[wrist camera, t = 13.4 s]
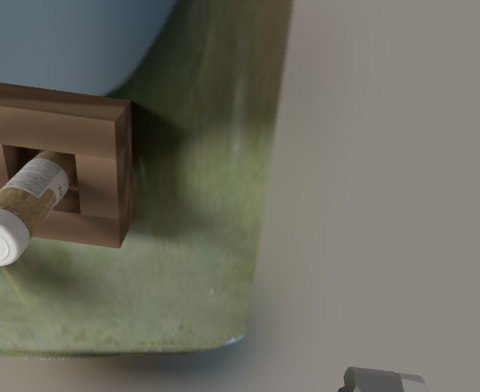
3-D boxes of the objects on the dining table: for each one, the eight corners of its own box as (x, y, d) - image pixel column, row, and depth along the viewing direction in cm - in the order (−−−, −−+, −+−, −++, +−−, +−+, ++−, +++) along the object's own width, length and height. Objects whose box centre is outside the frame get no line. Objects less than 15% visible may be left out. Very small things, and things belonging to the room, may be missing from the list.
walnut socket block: (-17, 80, 42) (-50, 99, 37) (130, 100, 42) (114, 121, 37) (8, 202, 49) (-17, 229, 45) (133, 219, 49) (119, 248, 45)
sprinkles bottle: (76, 187, 46) (11, 276, 35) (33, 168, 45) (-47, 253, 34) (89, 154, 44) (24, 237, 33) (45, 133, 43) (-38, 211, 32)
